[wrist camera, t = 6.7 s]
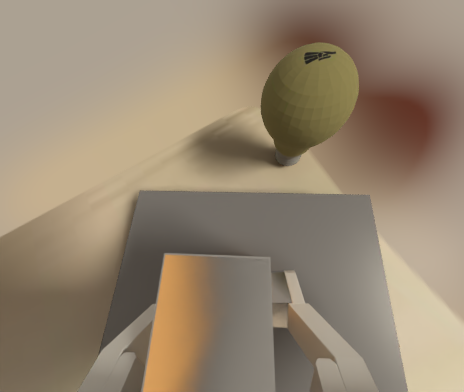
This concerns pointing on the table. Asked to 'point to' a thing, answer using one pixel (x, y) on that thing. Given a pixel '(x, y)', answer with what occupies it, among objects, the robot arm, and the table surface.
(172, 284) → the plug
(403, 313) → the table surface
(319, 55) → the light bulb
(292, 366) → the grey block with hole
